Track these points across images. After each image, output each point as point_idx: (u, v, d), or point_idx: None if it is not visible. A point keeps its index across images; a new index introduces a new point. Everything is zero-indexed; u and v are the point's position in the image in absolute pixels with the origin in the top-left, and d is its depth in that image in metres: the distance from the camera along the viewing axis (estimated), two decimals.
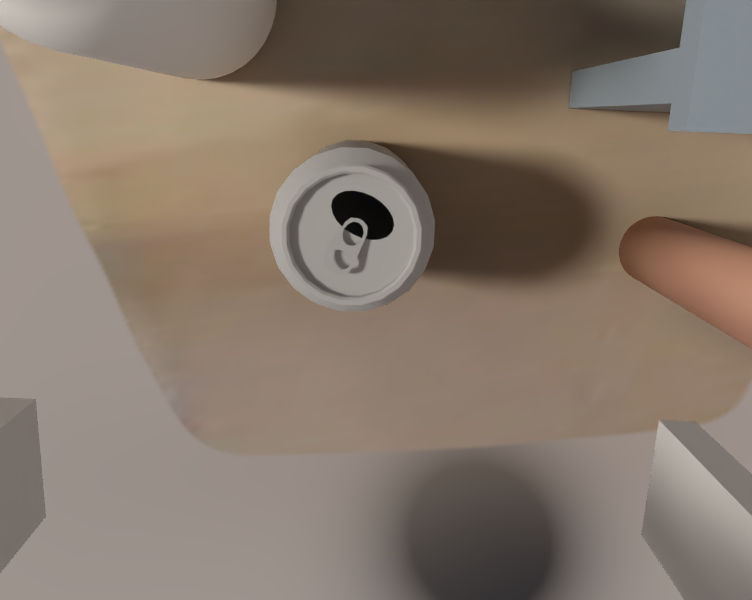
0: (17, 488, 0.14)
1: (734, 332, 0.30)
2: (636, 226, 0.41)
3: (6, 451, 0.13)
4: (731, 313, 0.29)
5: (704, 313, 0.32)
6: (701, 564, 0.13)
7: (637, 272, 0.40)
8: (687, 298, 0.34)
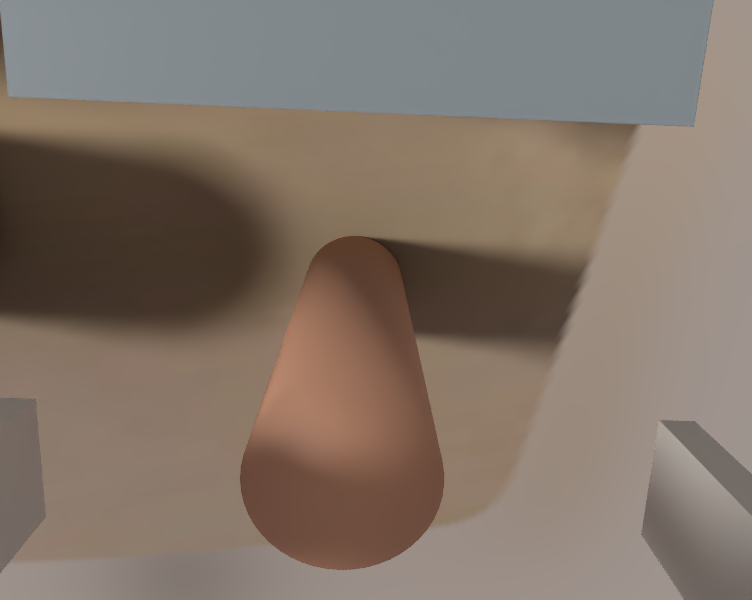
0: (17, 488, 0.14)
1: None
2: (320, 251, 0.28)
3: (6, 451, 0.13)
4: None
5: None
6: (701, 564, 0.13)
7: None
8: None
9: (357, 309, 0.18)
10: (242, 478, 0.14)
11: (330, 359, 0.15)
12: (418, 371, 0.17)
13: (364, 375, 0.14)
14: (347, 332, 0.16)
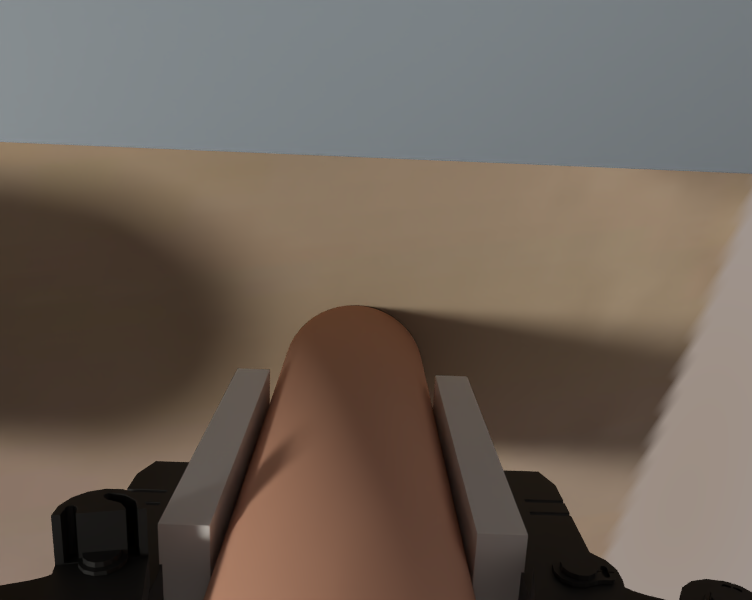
0: None
1: None
2: (304, 329, 0.19)
3: (261, 412, 0.15)
4: None
5: None
6: None
7: None
8: None
9: (357, 512, 0.09)
10: None
11: None
12: None
13: None
14: None
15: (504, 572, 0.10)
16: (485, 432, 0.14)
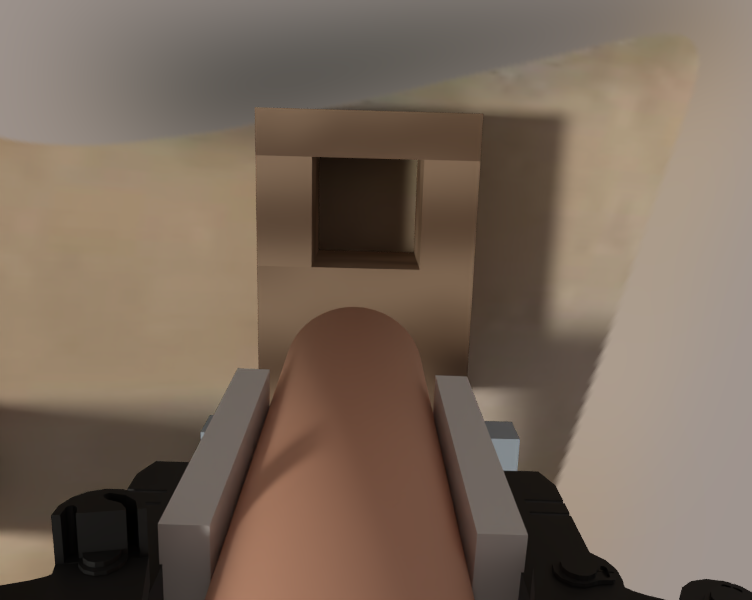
0: None
1: None
2: (304, 330, 0.19)
3: (261, 412, 0.15)
4: None
5: None
6: None
7: None
8: None
9: (356, 513, 0.10)
10: None
11: None
12: None
13: None
14: None
15: (504, 572, 0.10)
16: (485, 432, 0.14)
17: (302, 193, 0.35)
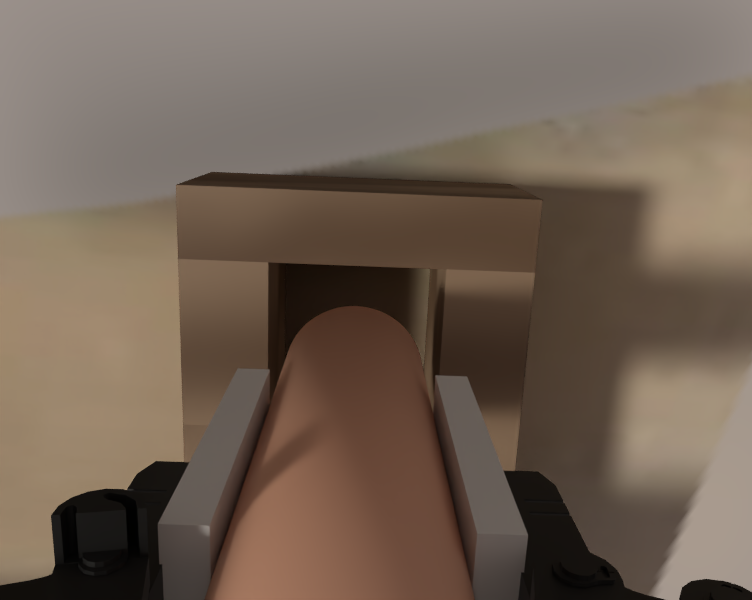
0: None
1: None
2: (305, 329, 0.19)
3: (261, 412, 0.15)
4: None
5: None
6: None
7: None
8: None
9: (356, 511, 0.10)
10: None
11: None
12: None
13: None
14: None
15: (504, 572, 0.10)
16: (485, 432, 0.14)
17: (253, 318, 0.22)
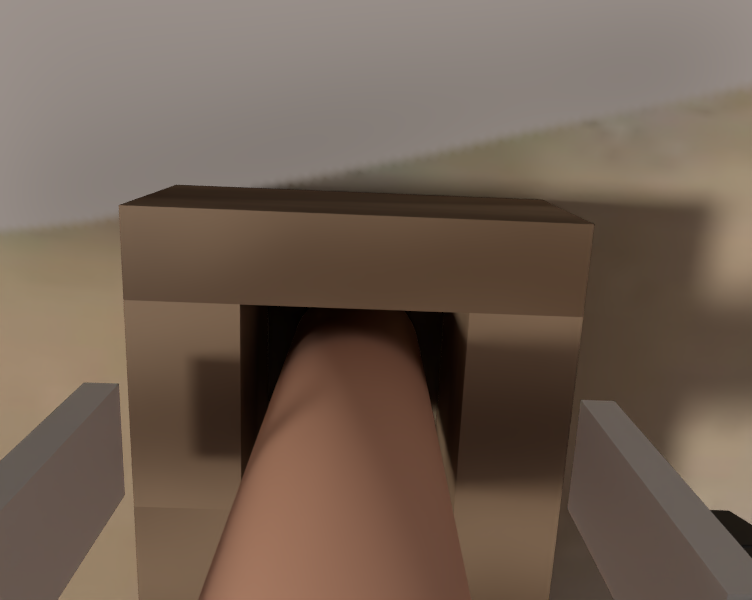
0: (105, 466, 0.15)
1: None
2: (311, 310, 0.21)
3: (97, 431, 0.14)
4: None
5: None
6: (608, 531, 0.13)
7: None
8: None
9: (355, 444, 0.11)
10: None
11: (299, 594, 0.08)
12: (457, 570, 0.10)
13: None
14: (336, 509, 0.09)
15: None
16: (669, 467, 0.13)
17: (221, 375, 0.17)
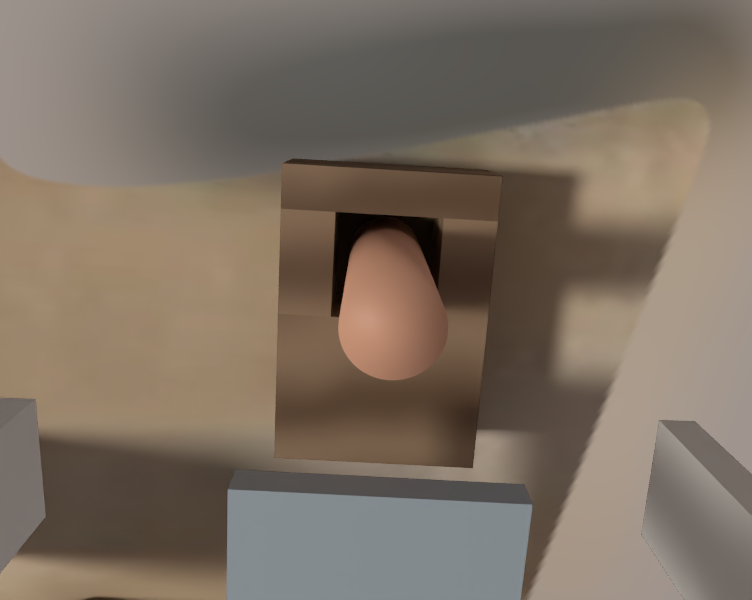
0: (17, 488, 0.14)
1: None
2: (362, 226, 0.40)
3: (5, 451, 0.13)
4: None
5: None
6: (700, 564, 0.13)
7: None
8: None
9: (396, 249, 0.30)
10: (339, 325, 0.25)
11: (386, 266, 0.26)
12: (433, 282, 0.28)
13: (405, 271, 0.26)
14: (393, 257, 0.28)
15: None
16: None
17: (324, 246, 0.36)
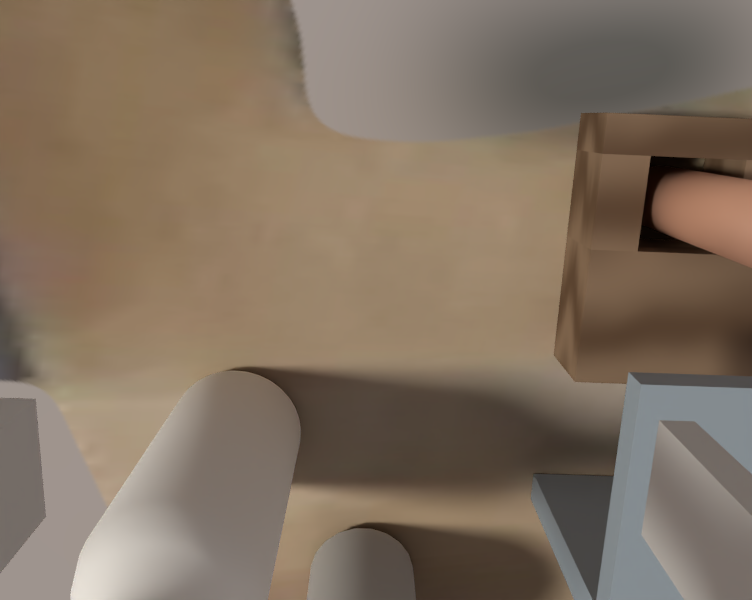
0: (17, 488, 0.14)
1: (734, 252, 0.33)
2: None
3: (6, 451, 0.13)
4: (731, 233, 0.32)
5: (706, 240, 0.35)
6: (700, 564, 0.13)
7: (643, 215, 0.43)
8: (690, 229, 0.36)
9: None
10: None
11: None
12: None
13: None
14: None
15: None
16: None
17: (638, 187, 0.40)
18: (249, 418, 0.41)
